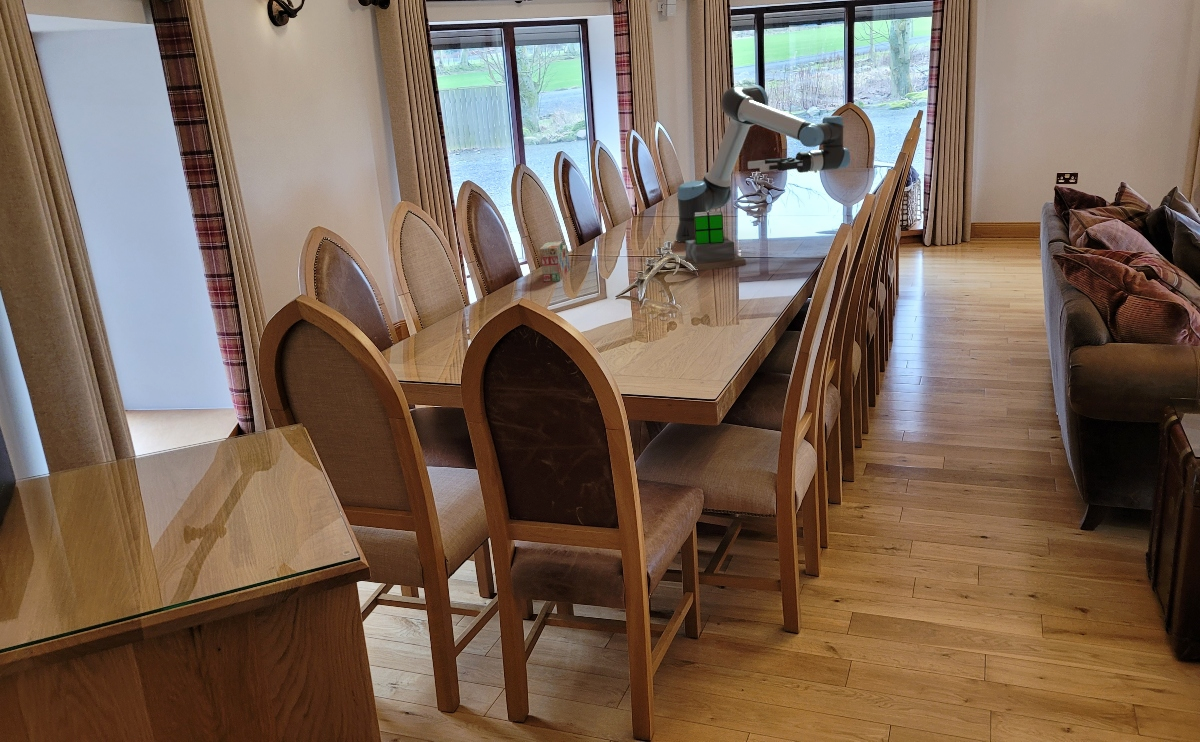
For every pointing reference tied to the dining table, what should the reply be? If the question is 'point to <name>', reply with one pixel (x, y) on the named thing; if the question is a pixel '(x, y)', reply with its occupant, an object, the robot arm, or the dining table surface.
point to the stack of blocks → (554, 261)
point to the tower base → (716, 263)
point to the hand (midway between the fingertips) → (753, 166)
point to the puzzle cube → (708, 227)
